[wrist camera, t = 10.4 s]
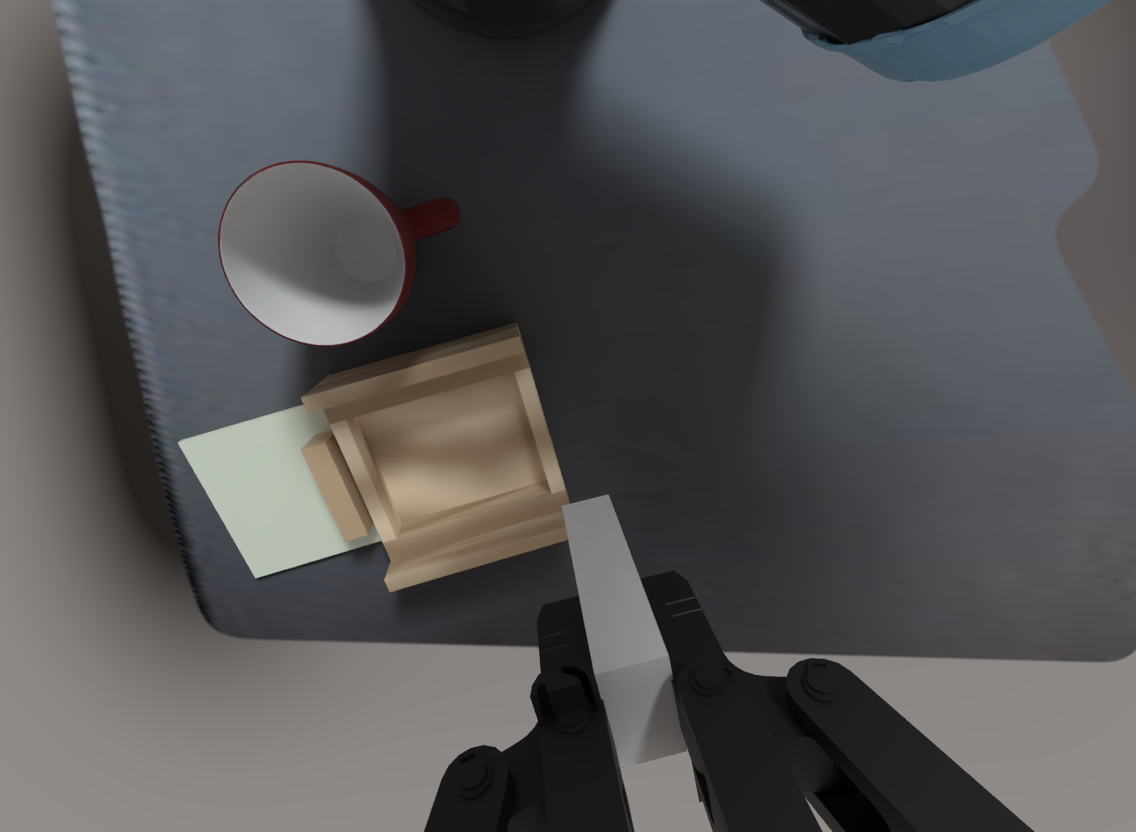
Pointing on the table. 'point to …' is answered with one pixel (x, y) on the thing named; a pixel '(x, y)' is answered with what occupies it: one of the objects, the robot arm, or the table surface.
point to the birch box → (449, 454)
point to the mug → (323, 251)
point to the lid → (282, 489)
